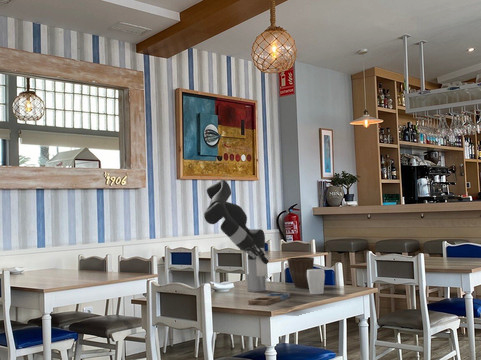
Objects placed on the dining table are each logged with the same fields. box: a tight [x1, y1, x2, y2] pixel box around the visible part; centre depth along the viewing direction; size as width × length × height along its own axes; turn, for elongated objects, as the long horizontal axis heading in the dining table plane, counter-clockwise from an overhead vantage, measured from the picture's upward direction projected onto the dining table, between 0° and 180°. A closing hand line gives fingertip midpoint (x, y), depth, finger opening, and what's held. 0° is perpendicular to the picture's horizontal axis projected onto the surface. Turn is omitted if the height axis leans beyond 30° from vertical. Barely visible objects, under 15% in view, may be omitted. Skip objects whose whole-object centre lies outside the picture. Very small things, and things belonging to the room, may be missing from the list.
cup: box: [307, 268, 326, 295], centre depth 301 cm, size 9×9×12 cm
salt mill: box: [256, 248, 267, 277], centre depth 274 cm, size 4×4×13 cm
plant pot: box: [286, 256, 315, 289], centre depth 329 cm, size 15×15×16 cm
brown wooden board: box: [247, 292, 291, 306], centre depth 279 cm, size 9×26×2 cm, turn 151°
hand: (264, 262), depth 274 cm, fingers closed on salt mill, 4 cm apart
